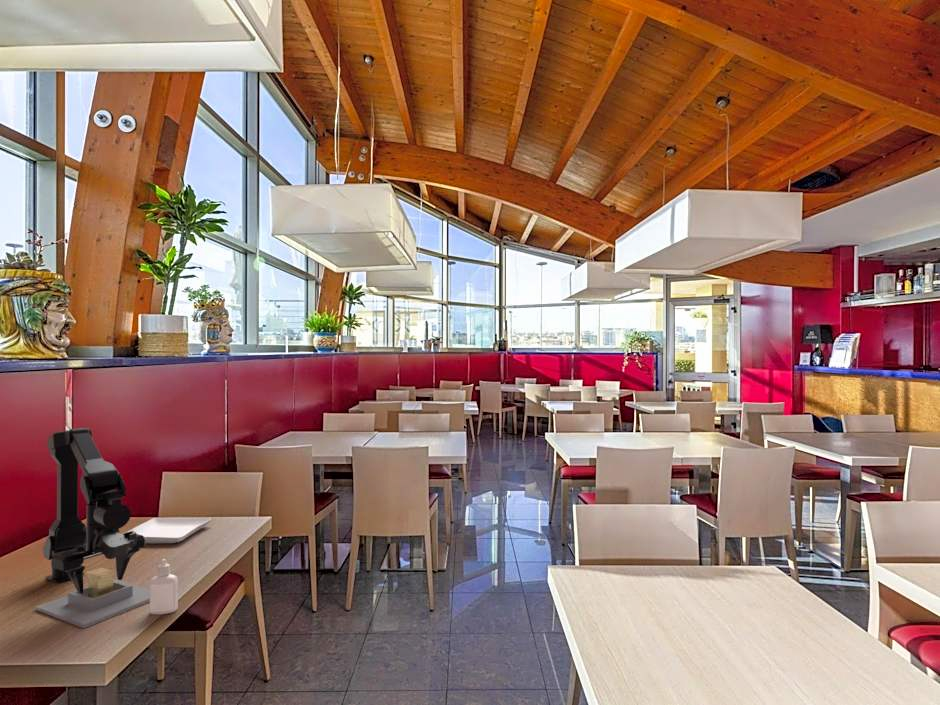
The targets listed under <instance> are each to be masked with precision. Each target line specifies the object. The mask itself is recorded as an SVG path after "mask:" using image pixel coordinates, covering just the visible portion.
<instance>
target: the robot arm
mask: <svg viewBox="0 0 940 705" xmlns="http://www.w3.org/2000/svg"><path fill="white" fill-rule="evenodd" d="M46 439H47V441H46V442H47V443H46V445H47V450H49V455H50V456H51V458H52V459H53V460H54V461H55V463H56V465H57V466H56V519H55V520H54V521H53V523H52V524H51V526H50V527H49V530H48V536H47V538H46V540H45V542H44V545H43V547H42V554H43V557H44V558H45V559H46V560H47V561H51V562H50V563H51V574H50V575H48V576H45V580H48V581H51V582H54V583H57V584H58V583H62V582H65V581H68V580H71V582H72V584H73V586H74V588H75V589H76V590H77V591H78V593H79V594H82V593H83V588H84V574H85V572H84V571H85V568H86V566H84V565H83V563H84V560H85V561H86V560H88V559H91V558H95V557H99V556H100V555H104V557H105V559H107V560H114V559H115V571H116V577H117V580H119V581H122V580H123V578H124V576H125V572H126V570H127V567H128V565H129V562H130V561H131V558H132V556H134V555H135V554H136V553H138V552H140V549H142V548H144V547H146V543H145V538H144V536H143V535H139V534H136V532H135V531H134V530H133V531H129V530H128V531H129V532H127V531H126V533H125V532H122V533H120V530H119V529H121V528H123V527H124V526H126V525H127V524H128V522H129V521H130V519H131V515H132V514H131V513H132V511H131V510H130V508H129V507H128V506H127V505H126V504H123V503H122V498H125V497H126V496H127V495H126V491H127V486H126V485H125V482H124V480H123V476H122V475H121V473H120V472H119V471H118V469H117V468H116V467H115V465H114V464H113V463H111V462H109V461H106V460H105V459H104V458H103V457H102V455H101V452H100V450H99V449H98V447H97V445H96V443H95V441H94V439H93V437H92V430H91V428H88V427H82V428H81V427H80V428H72V429H71V428H70V429H69V430H59V431H53V432H52V434H51V435H49V436H48V437H47V438H46ZM79 467H80V470H81V471H82V473H81V477H80V479H79ZM79 487H80V491H81V494H82V495H83V498H84V500H85V502H86V523H83V521H82V519H80V518H79V505H78V504H79ZM85 524H86V525H85Z"/></svg>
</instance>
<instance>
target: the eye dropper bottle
mask: <svg viewBox="0 0 940 705" xmlns="http://www.w3.org/2000/svg"><path fill="white" fill-rule="evenodd" d="M170 566H171V565H170V563H168V562H167V560H166V558H163V559H161V563H160V564H159V565H158V566H157V575H155V576H153V577H152V578H151V580H150V582H149V589H150V602H149V613H150V614H151V615H166V614H167V615H168V614H173V613H174V612H176V611H177V610H178V608H179V605H178V604H179V601H178V600H179V597H178V595H179V594H178V592H179V590H178V588H179V587H178V586H179V585H178V583H179V582H178V580H179V579H178V577H177V575H174V574H172V573H170V569H171V568H170Z"/></svg>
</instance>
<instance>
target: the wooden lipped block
mask: <svg viewBox="0 0 940 705" xmlns="http://www.w3.org/2000/svg"><path fill="white" fill-rule="evenodd" d="M115 575H117V570H111V569H110V568H109V569H108V568H104V567H102V566H101V567H99V568H96V569H93V570H92V569H91V570H89V571H85V576H86V577H88V579H87V580H88V583H87V584H88V585H87V587H88V597H91V598H96V597H98V596H101V595H104V594H107V593H109V592H112V591H113V580H114V576H115Z"/></svg>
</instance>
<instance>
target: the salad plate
mask: <svg viewBox="0 0 940 705" xmlns="http://www.w3.org/2000/svg"><path fill="white" fill-rule="evenodd" d="M211 521H212V518H211V517H154V518H151V519H149V520H147V521H145V522H143V523H141V524H139V525H137V526H135V527H133V528H132V529H130V530H128V531H126V532H129V531H133V530H134V531H135V532H136V534H139V535H143V536H144V538H145V544H175V543H176V542H177V543H179V542H181V541H183V540H185V539H186V538H189V537H190V536H191V535H193V534H195V533H196V532H197V531H199V530H201V529H203V528H204V527H206V526H207V525H208V524H209V523H210V522H211ZM126 532H124V533H126Z"/></svg>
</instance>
